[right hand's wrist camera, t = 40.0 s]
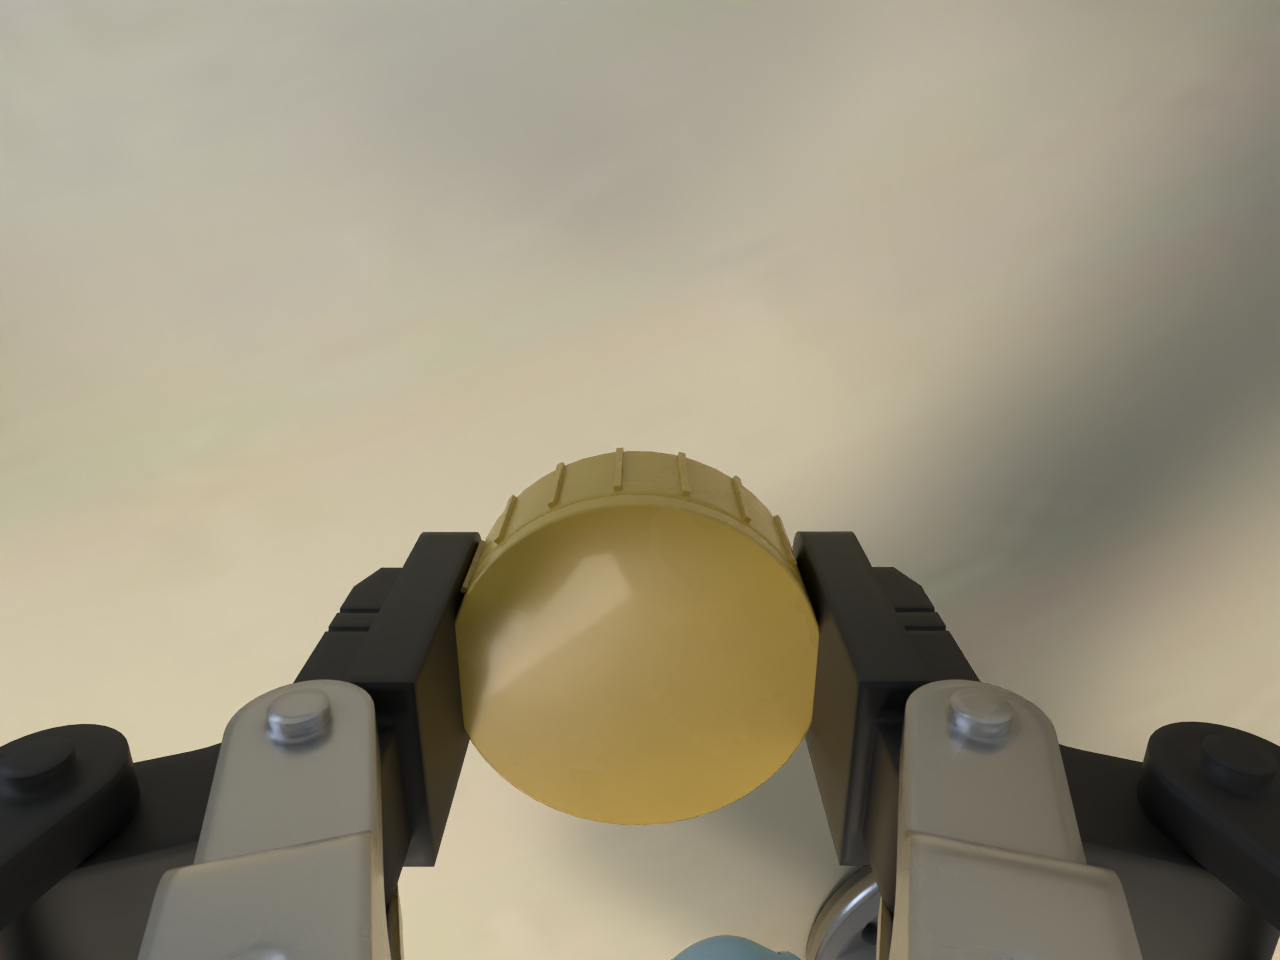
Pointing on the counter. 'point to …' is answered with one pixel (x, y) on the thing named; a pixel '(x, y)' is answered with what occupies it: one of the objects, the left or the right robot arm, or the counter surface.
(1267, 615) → the counter surface
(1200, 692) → the counter surface
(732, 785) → the cap
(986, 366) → the counter surface
